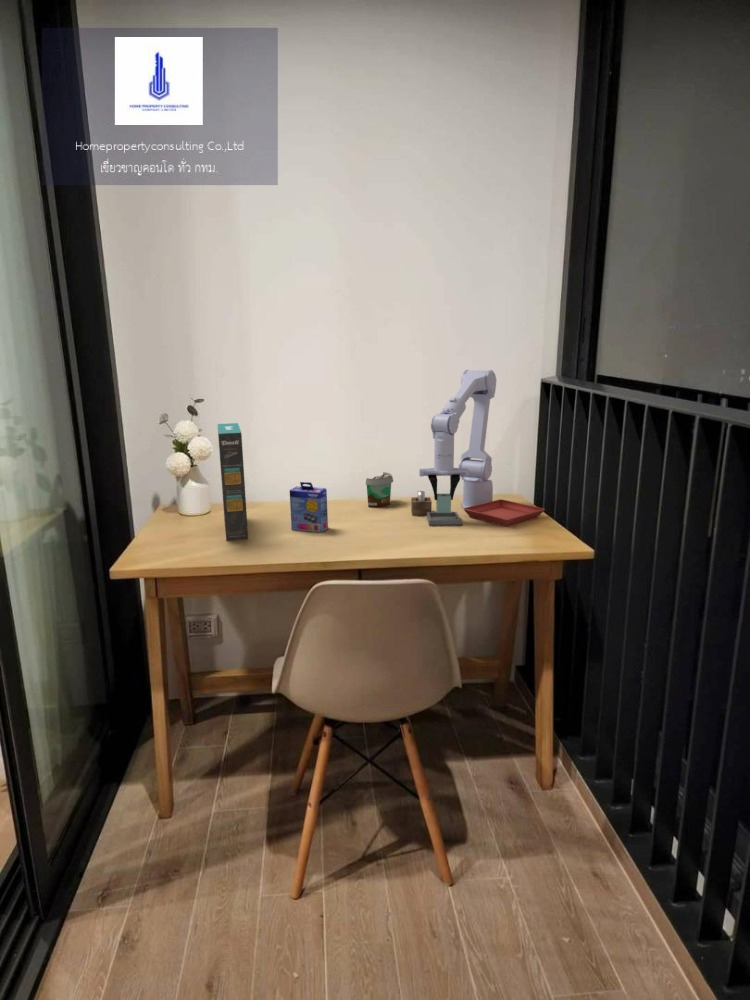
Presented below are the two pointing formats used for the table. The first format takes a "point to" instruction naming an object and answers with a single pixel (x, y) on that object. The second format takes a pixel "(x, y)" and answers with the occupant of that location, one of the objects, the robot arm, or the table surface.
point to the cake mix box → (233, 481)
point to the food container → (379, 490)
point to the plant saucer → (503, 512)
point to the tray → (443, 519)
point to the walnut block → (420, 506)
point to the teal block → (443, 503)
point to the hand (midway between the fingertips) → (443, 499)
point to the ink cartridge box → (308, 508)
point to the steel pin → (421, 496)
